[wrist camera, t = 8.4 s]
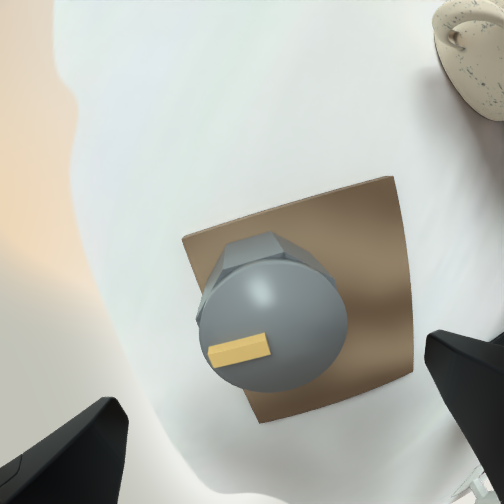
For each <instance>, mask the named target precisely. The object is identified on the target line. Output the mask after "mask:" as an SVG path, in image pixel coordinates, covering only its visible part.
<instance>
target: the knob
mask: <svg viewBox="0 0 504 504" xmlns="http://www.w3.org/2000/svg"><path fill="white" fill-rule="evenodd" d="M196 322H197V324H198V326H199V340H200V345H201V349H202V352H203V355H204V357H205V359H206V360H207V362H208V364H209V365H210V366H211V368H212V369H213V370H214V371H215V372H216V373H217V374H218V375H219V376H220V377H222V378H223V379H224V380H226V381H227V382H229V383H231V384H232V385H235V386H237V387H239V388H242V389H245V390H249V391H254V392H262V393H275V392H283V391H288V390H292V389H295V388H298V387H300V386H303V385H305V384H307V383H309V382H311V381H312V380H314V379H316V378H317V377H318V376H320V375H321V374H322V373H324V372H325V371H326V370H327V369H328V368H329V367H330V366H331V364H332V363H333V362H334V361H335V359H336V358H337V356H338V355H339V353H340V351H341V349H342V347H343V345H344V342H345V339H346V334H347V326H348V320H347V312H346V308H345V305H344V303H343V300H342V298H341V297H340V295H339V293H338V292H337V287H336V282H335V279H334V278H333V277H332V276H331V275H330V273H329V272H328V271H327V270H326V269H325V268H324V267H323V266H322V265H321V264H320V263H319V262H318V261H317V260H316V259H315V258H314V257H313V255H312V254H311V253H310V252H308V251H306V250H305V249H303V248H301V247H299V246H297V245H296V244H294V243H292V242H290V241H288V240H287V239H285V238H283V237H281V236H279V235H277V234H276V233H274V232H272V231H269V232H266V233H262V234H259V235H255V236H252V237H249V238H245V239H242V240H238V241H235V242H231V243H228V244H226V246H225V248H224V250H223V252H222V254H221V256H220V257H219V259H218V261H217V263H216V265H215V267H214V269H213V270H212V272H211V274H210V276H209V278H208V280H207V282H206V285H205V288H204V292H203V295H202V299H201V302H200V306H199V309H198V313H197V316H196Z"/></svg>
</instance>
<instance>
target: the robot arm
mask: <svg viewBox="0 0 504 504" xmlns="http://www.w3.org/2000/svg"><path fill="white" fill-rule="evenodd" d="M424 360H425V364H426V366H427V368H428V370H429V372H430V374H431V376H432V378H433V380H434V382H435V384H436V386H437V388H438V390H439V392H440V394H441V396H442V398H443V400H444V402H445V404H446V406H447V407H448V409H449V411H450V412H451V414H452V415H453V417H454V419H455V420H456V422H457V424H458V425H459V427H460V429H461V430H462V432H463V434H464V435H465V437H466V439H467V440H468V442H469V444H470V446H471V447H472V449H473V451H474V453H475V455H476V456H477V458H478V460H479V462H480V464H481V465H482V467H483V469H484V471H485V473H486V475H487V477H488V479H489V480H490V483H491V485H492V486H493V489H494V491H495V493H496V495H497V497H498V499H499V501H500V504H504V333H502V334H501V335H499V336H498V337H497V338H495V339H494V340H492V341H491V342H485V341H481V340H478V339H474V338H470V337H466V336H462V335H459V334H455V333H451V332H448V331H444V330H437V331H434V332H432V333H429V334H428V335H427V338H426V346H425V355H424ZM128 425H129V420H128V417H127V415H126V413H125V411H124V410H123V408H122V407H121V405H120V403H119V402H118V400H117V399H116V398H114V397H102V398H100V399H99V400H98V401H96V402H95V403H93V404H92V405H91V406H89V407H88V408H87V409H85V410H84V411H82V412H81V413H80V414H78V415H77V416H75V417H74V418H73V419H71V420H70V421H68V422H67V423H66V424H64V425H63V426H62V427H60V428H59V429H57V430H56V431H54V432H53V433H52V434H50V435H49V436H47V437H46V438H44V439H43V440H41V441H40V442H39V443H37V444H36V445H34V446H33V447H32V448H30V449H29V450H27V451H25V452H24V453H23V454H21V455H19V456H18V457H16V458H15V459H13V460H12V461H10V462H9V463H7V464H6V465H4V466H2V467H1V468H0V504H117V502H118V496H119V491H120V485H121V480H122V474H123V469H124V463H125V455H126V444H127V434H128Z"/></svg>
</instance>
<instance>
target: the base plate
mask: <svg viewBox="0 0 504 504" xmlns="http://www.w3.org/2000/svg"><path fill="white" fill-rule="evenodd" d="M269 231H272V232H274V233H276V234H277V235H279V236H281V237H283V238H285V239H287V240H288V241H290V242H292V243H294V244H296V245H297V246H299V247H301V248H303V249H305V250H306V251H308V252H310V253H311V254H312V255H313V257H314V258H315V259H316V260H317V261H318V262H319V263H320V264H321V265H322V266H323V267H324V268H325V269H326V270H327V271H328V272H329V273H330V275H331V276H332V277H333V278H334V279H335V282H336V287H337V292H338V293H339V295H340V297H341V298H342V300H343V303H344V305H345V308H346V312H347V320H348V326H347V334H346V339H345V342H344V345H343V347H342V349H341V351H340V353H339V355H338V356H337V358H336V359H335V361H334V362H333V363H332V364H331V366H330V367H329V368H328V369H327V370H326V371H325V372H324V373H322V374H321V375H320V376H318V377H317V378H316V379H314V380H312V381H311V382H309V383H307V384H305V385H303V386H300V387H298V388H295V389H292V390H288V391H283V392H275V393H262V392H254V391H249V390H245V389H243V390H244V392H245V395H246V397H247V399H248V401H249V403H250V405H251V407H252V409H253V411H254V413H255V415H256V418H257V420H258V422H259V424H260V423H265V422H269V421H273V420H278V419H282V418H286V417H290V416H293V415H297V414H301V413H304V412H308V411H311V410H315V409H318V408H321V407H324V406H327V405H331V404H334V403H337V402H340V401H342V400H345V399H348V398H351V397H354V396H356V395H359V394H362V393H364V392H367V391H370V390H372V389H375V388H377V387H380V386H382V385H384V384H387V383H389V382H391V381H394V380H396V379H398V378H401V377H403V376H405V375H407V374H409V373H411V372H413V357H414V343H413V311H412V295H411V283H410V273H409V264H408V255H407V248H406V241H405V234H404V228H403V222H402V216H401V211H400V205H399V200H398V195H397V190H396V186H395V181H394V177H393V176H384V177H380V178H376V179H373V180H369V181H365V182H362V183H358V184H354V185H350V186H347V187H343V188H340V189H336V190H332V191H329V192H325V193H322V194H318V195H315V196H311V197H308V198H305V199H301V200H298V201H294V202H291V203H288V204H284V205H281V206H278V207H274V208H271V209H268V210H264V211H261V212H258V213H255V214H251V215H248V216H245V217H242V218H239V219H235V220H232V221H229V222H226V223H223V224H220V225H217V226H214V227H211V228H207V229H204V230H201V231H198V232H195V233H192V234H189V235H186V236H184V237H183V238H182V242H183V245H184V248H185V250H186V253H187V256H188V259H189V261H190V264H191V267H192V269H193V272H194V274H195V277H196V280H197V282H198V285H199V287H200V290H201V292H202V295H203V292H204V288H205V285H206V282H207V280H208V278H209V276H210V274H211V272H212V270H213V269H214V267H215V265H216V263H217V261H218V259H219V257H220V256H221V254H222V252H223V250H224V248H225V246H226V244H228V243H231V242H235V241H238V240H242V239H245V238H249V237H252V236H255V235H259V234H262V233H266V232H269Z"/></svg>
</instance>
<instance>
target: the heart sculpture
mask: <svg viewBox="0 0 504 504" xmlns="http://www.w3.org/2000/svg"><path fill="white" fill-rule="evenodd" d="M483 471H484V469H483V467H482V465H481V464H480V465H479V466H478V467H477V468H476V469H475V470H474V471H473V472H472V474H471V475H470V476H469V477H468V478H467V480H466V481H465V482H464V483H463V484H462V485H461V487H460V488H459V489H458V490H457V491H456V492H455V493H454V494H453V496H452V497H454V496H456V495H458V494H460V493H461V492H463V491H464V490H466V489H467V488H469V487H470V488H471V490H472V491H473V493H474V495H475V496H476V498H477V499H476V501H475V504H500V501H499V499H498V497H497V495H496V493H495V491H487V489H486V488H485V486H484V484H483V483H482V481H481V479H480V478H478V477H479V476H480V475H481V474H482V473H483Z"/></svg>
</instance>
